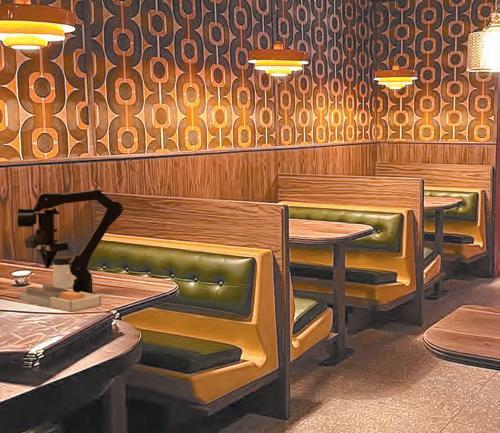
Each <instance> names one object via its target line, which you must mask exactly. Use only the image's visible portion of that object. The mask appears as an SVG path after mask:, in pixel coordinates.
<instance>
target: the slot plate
mask: <svg viewBox="0 0 500 433" xmlns="http://www.w3.org/2000/svg"><path fill="white" fill-rule="evenodd" d="M25 289H26V290H25V291H23V292H20V301H26V302H29V303H32V304H38V305H41V306H45V307H49V308H51V307H50V297H55V298H59V299H61V297H60V293H61V292H67V291H73V289H72V290H70V289H68V288H58V287H54V286H53V285H48V284H42V288H40V289H39V288H38V289H37V288H32V287H26V288H25ZM73 292H75V291H73Z"/></svg>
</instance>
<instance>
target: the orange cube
mask: <svg viewBox="0 0 500 433" xmlns="http://www.w3.org/2000/svg"><path fill="white" fill-rule="evenodd" d="M67 296H68V301H74V300H79V299H84V294H82V293H78V292H76V293H71V294H67Z"/></svg>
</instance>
